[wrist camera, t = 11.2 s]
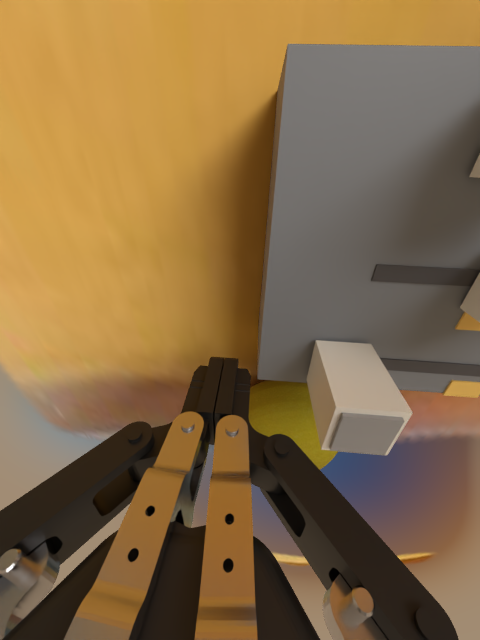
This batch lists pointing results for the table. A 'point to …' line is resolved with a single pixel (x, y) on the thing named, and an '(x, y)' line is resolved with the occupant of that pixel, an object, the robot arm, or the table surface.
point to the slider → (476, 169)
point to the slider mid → (473, 300)
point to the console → (375, 213)
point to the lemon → (287, 416)
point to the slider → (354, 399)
